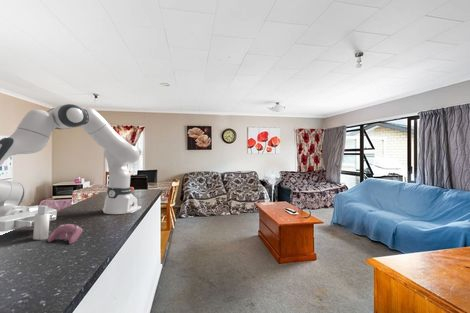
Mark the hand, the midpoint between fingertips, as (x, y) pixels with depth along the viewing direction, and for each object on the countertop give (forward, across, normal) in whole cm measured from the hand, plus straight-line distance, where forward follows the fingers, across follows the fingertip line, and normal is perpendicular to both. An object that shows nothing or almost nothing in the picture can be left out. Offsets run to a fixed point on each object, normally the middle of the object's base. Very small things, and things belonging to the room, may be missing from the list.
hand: (44, 220), depth 84 cm
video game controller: (+9, 0, +7) cm, 11 cm away
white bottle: (-1, 0, +6) cm, 7 cm away
